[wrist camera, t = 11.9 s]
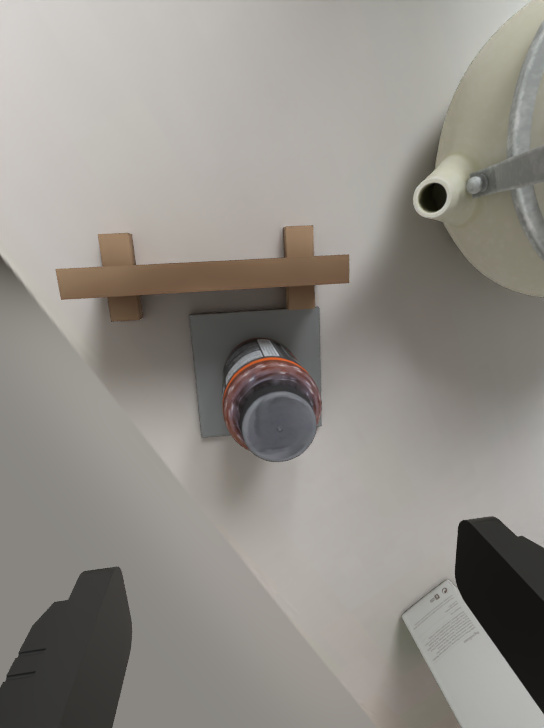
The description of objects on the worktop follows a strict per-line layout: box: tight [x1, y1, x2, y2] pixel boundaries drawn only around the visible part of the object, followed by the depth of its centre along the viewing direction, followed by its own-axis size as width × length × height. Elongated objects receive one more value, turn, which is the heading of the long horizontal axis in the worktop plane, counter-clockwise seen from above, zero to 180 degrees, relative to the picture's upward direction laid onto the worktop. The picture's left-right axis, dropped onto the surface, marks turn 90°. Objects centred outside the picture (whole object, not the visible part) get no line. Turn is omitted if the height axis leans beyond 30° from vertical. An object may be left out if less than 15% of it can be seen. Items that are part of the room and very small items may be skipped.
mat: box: [189, 306, 322, 438], centre depth 32 cm, size 10×10×1 cm
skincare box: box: [402, 580, 544, 728], centre depth 33 cm, size 8×7×16 cm
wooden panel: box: [56, 225, 349, 322], centre depth 26 cm, size 6×16×8 cm, turn 93°
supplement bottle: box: [222, 338, 322, 462], centre depth 26 cm, size 6×6×11 cm
